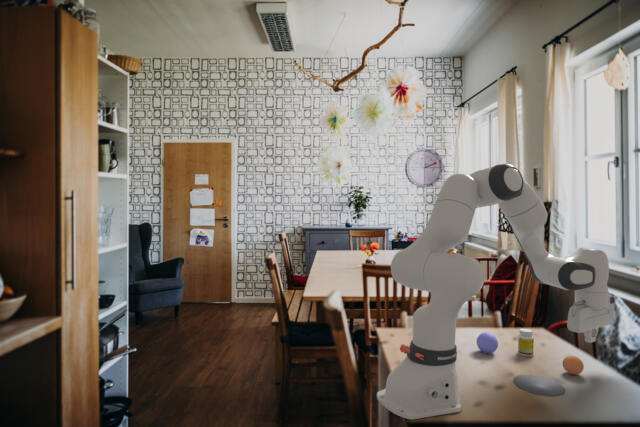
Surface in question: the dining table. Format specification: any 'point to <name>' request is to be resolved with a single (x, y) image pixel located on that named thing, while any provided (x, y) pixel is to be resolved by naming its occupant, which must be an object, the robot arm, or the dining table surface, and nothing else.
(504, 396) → the dining table surface
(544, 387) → the slate disc
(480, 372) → the dining table surface
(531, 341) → the supplement bottle
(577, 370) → the ball
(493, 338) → the sphere
